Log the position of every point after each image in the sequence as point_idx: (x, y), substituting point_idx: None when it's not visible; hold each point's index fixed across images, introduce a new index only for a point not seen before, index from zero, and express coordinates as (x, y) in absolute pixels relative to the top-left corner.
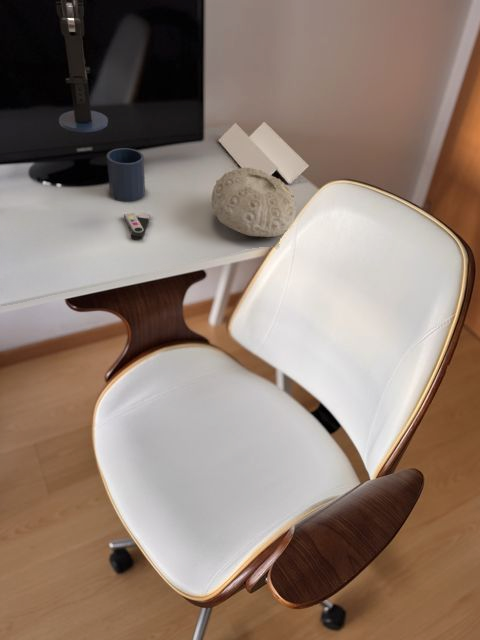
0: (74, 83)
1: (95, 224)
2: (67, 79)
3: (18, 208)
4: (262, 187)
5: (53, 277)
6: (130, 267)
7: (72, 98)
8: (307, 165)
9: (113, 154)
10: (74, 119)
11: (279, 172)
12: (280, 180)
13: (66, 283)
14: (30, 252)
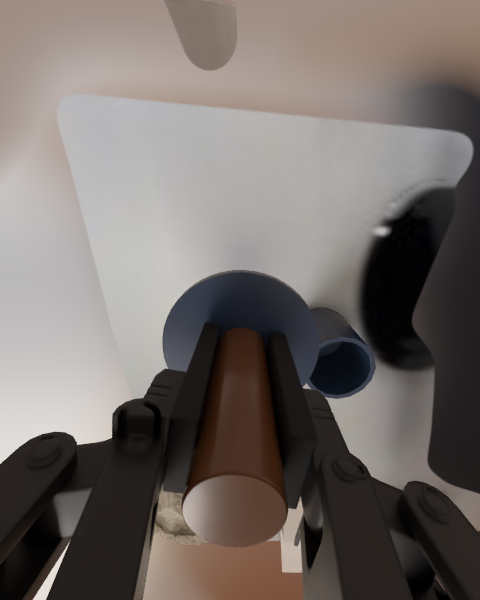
0: (100, 442)
1: (237, 266)
2: (129, 424)
3: (321, 144)
4: (182, 519)
5: (101, 176)
6: (115, 290)
7: (189, 366)
8: (282, 570)
9: (363, 349)
10: (242, 322)
11: (283, 534)
12: (196, 544)
13: (85, 194)
14: (174, 148)
